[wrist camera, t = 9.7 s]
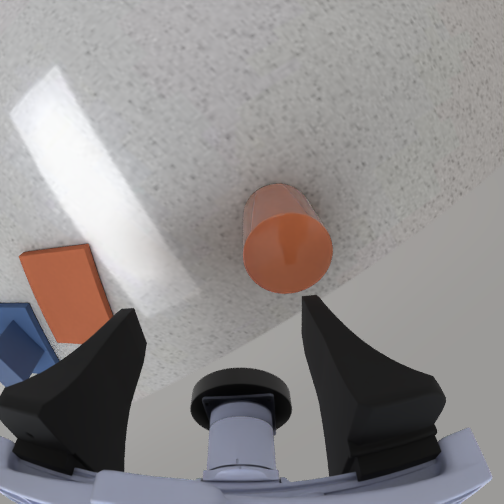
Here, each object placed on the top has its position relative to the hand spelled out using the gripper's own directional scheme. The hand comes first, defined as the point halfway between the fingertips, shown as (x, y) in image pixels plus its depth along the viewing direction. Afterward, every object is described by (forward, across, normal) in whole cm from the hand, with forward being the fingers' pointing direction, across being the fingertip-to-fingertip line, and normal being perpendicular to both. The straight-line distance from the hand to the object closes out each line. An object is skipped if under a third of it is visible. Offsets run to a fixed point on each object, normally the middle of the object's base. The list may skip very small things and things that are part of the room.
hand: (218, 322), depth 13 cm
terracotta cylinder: (+9, -3, -1) cm, 9 cm away
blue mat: (+9, +23, +9) cm, 26 cm away
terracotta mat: (+9, +14, +4) cm, 17 cm away
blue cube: (+8, +23, +9) cm, 25 cm away
